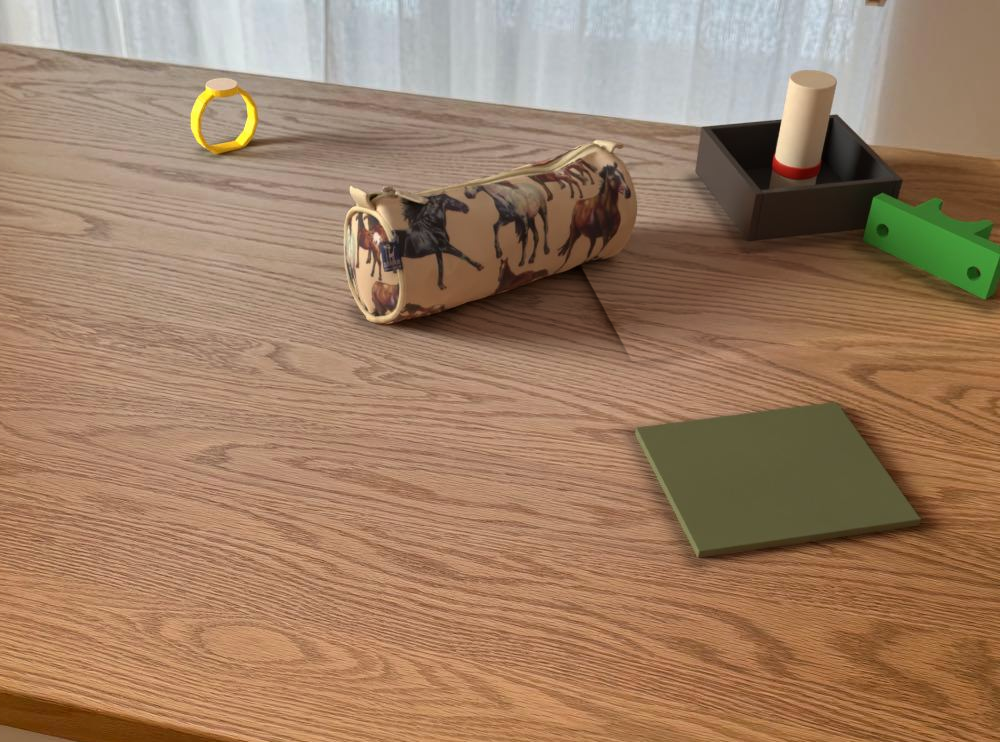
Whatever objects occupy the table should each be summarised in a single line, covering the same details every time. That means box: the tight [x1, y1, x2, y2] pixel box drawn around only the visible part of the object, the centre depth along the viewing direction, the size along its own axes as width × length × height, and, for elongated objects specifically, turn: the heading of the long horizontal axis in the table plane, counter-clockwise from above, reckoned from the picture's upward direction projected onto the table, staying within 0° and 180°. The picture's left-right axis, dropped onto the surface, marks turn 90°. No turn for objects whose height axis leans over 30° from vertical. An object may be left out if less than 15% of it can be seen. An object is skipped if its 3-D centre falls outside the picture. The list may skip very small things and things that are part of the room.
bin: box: [695, 114, 904, 242], centre depth 102 cm, size 12×12×5 cm
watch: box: [190, 77, 259, 155], centre depth 109 cm, size 6×3×6 cm, turn 127°
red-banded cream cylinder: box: [769, 69, 838, 189], centre depth 100 cm, size 4×4×10 cm
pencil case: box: [343, 139, 638, 325], centre depth 91 cm, size 22×8×10 cm, turn 120°
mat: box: [634, 401, 922, 559], centre depth 77 cm, size 14×12×1 cm
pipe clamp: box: [862, 193, 1000, 301], centre depth 95 cm, size 11×4×5 cm, turn 39°
